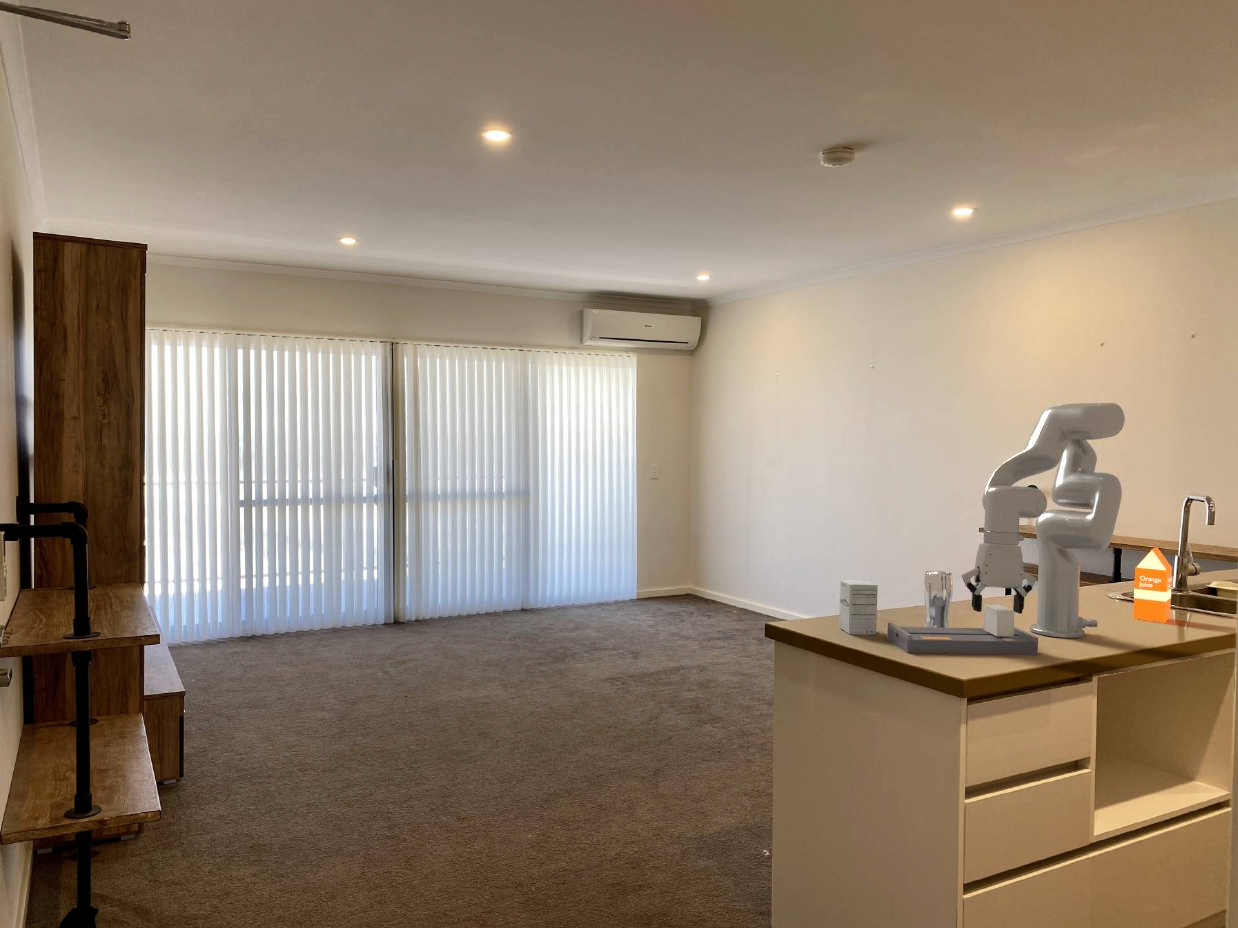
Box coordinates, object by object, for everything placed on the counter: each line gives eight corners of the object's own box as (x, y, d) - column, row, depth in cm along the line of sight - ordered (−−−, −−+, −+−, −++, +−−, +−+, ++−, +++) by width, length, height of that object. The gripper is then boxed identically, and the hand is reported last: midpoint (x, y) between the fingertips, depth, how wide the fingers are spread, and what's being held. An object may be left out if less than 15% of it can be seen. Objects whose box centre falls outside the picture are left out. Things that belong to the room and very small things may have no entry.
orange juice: (1132, 619, 245) (1135, 548, 245) (1139, 614, 252) (1141, 545, 252) (1165, 623, 240) (1168, 550, 240) (1170, 618, 247) (1173, 548, 246)
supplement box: (838, 628, 225) (839, 579, 225) (866, 628, 225) (867, 579, 225) (848, 634, 217) (849, 584, 217) (877, 634, 218) (878, 584, 218)
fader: (999, 634, 211) (1000, 605, 210) (1013, 641, 204) (1014, 610, 203) (983, 634, 210) (984, 604, 210) (996, 641, 203) (997, 610, 203)
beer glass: (953, 634, 220) (955, 575, 219) (924, 633, 221) (926, 573, 221) (948, 629, 227) (950, 571, 226) (920, 627, 228) (922, 570, 228)
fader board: (1009, 640, 214) (1009, 624, 214) (1037, 654, 200) (1038, 637, 200) (887, 638, 214) (887, 622, 213) (907, 652, 200) (907, 635, 200)
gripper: (1029, 539, 210) (1026, 610, 210) (958, 536, 210) (954, 607, 210) (1045, 542, 203) (1041, 616, 203) (971, 539, 202) (967, 613, 202)
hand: (997, 611), depth 206 cm, fingers open, 9 cm apart
